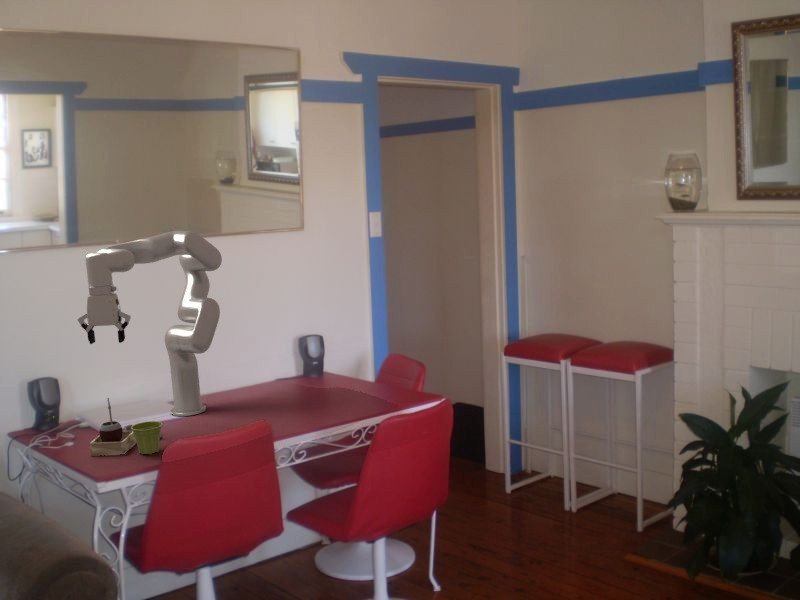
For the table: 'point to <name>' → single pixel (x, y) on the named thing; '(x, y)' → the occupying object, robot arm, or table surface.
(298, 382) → the table surface
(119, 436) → the mate gourd
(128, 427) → the clip
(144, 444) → the plant pot
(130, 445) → the holder
